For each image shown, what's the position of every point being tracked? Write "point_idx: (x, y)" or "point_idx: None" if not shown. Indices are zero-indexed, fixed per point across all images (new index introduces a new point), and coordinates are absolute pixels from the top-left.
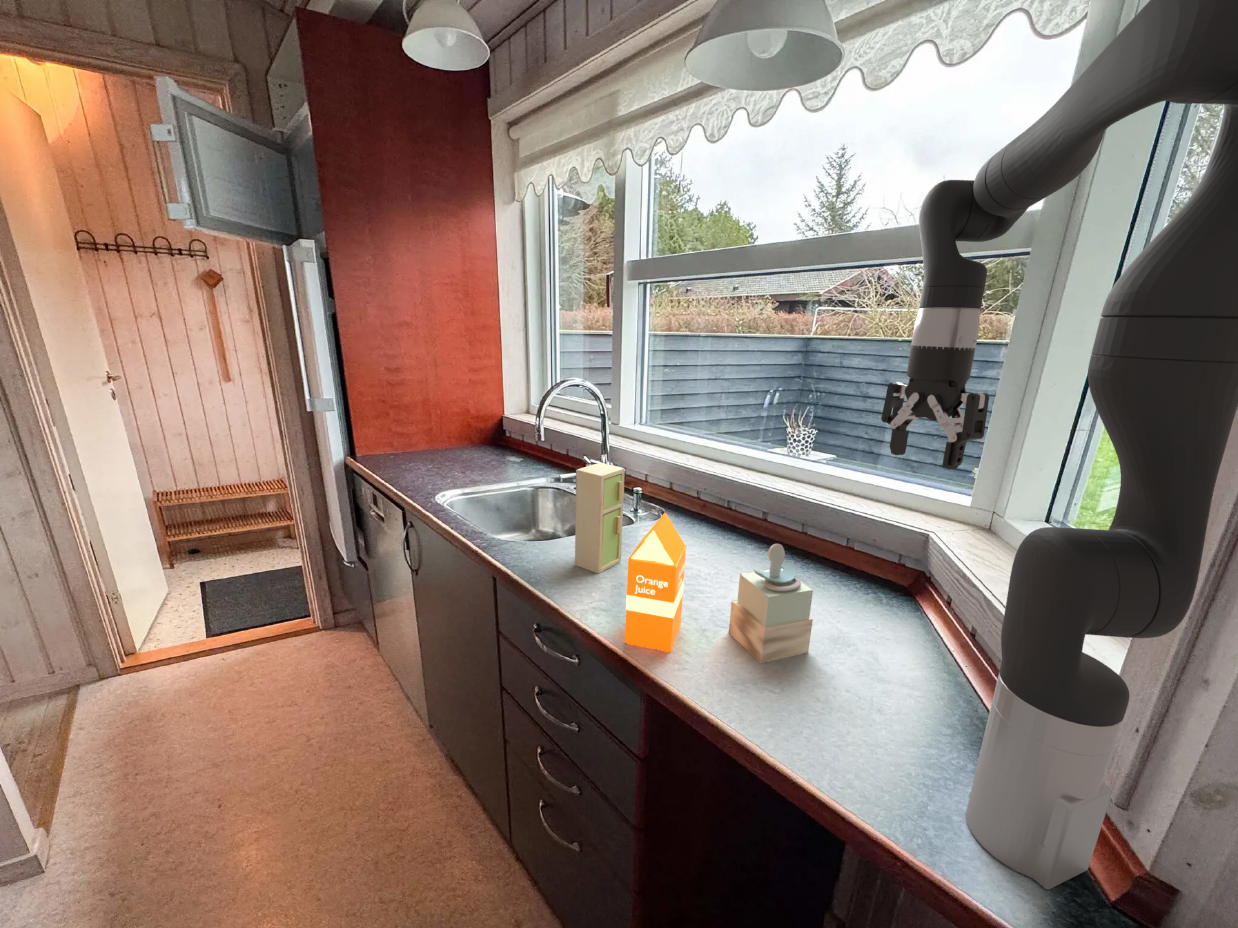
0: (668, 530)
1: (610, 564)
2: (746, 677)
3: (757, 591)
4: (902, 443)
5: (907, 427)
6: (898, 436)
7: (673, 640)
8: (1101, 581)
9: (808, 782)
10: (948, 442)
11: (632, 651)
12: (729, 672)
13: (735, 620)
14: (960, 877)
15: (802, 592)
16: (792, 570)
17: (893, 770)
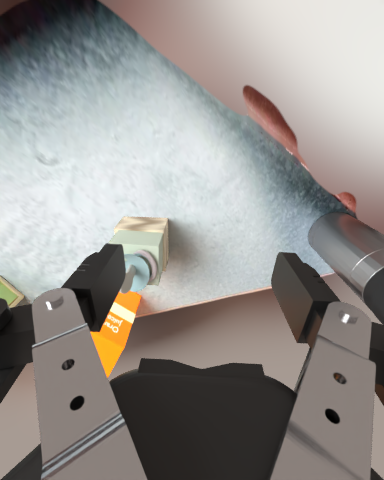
0: None
1: (10, 287)
2: (178, 271)
3: None
4: (113, 276)
5: (73, 293)
6: (106, 311)
7: (133, 294)
8: None
9: (255, 289)
10: (302, 341)
11: None
12: (170, 277)
13: None
14: (320, 270)
15: (158, 255)
16: (133, 256)
17: (272, 251)
